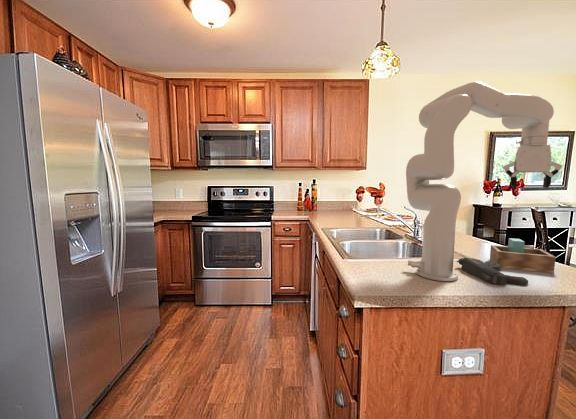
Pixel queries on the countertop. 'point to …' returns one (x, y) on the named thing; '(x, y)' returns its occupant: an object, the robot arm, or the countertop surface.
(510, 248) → the teal upright block
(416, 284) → the countertop surface
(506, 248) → the open wooden box
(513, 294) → the countertop surface
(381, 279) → the countertop surface
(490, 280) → the toy gun
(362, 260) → the countertop surface
